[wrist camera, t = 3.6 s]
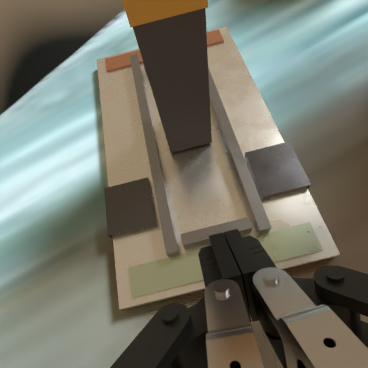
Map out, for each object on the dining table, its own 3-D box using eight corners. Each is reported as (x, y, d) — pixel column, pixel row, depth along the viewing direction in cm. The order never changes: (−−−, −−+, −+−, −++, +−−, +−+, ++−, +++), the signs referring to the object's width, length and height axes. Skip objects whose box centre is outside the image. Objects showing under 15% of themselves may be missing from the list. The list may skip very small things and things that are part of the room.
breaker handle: (201, 107, 24) (182, -95, 12) (213, 143, 22) (205, -56, 10) (161, 117, 24) (104, -74, 12) (169, 154, 22) (112, -32, 10)
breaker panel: (226, 34, 30) (227, 15, 28) (336, 257, 18) (349, 249, 16) (99, 67, 31) (91, 50, 29) (122, 310, 18) (111, 309, 16)
